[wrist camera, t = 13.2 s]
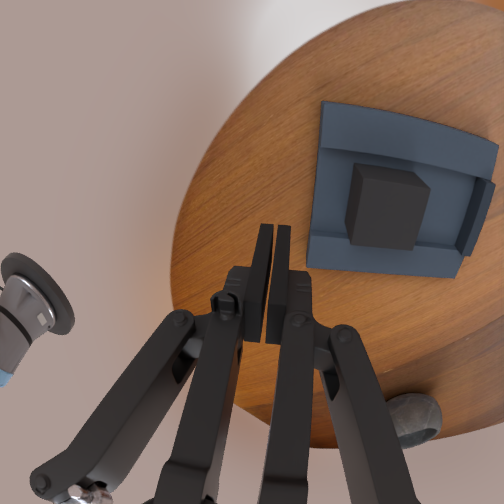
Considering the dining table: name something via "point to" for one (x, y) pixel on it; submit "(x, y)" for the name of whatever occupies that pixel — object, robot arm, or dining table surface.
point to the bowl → (415, 418)
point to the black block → (385, 207)
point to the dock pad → (409, 159)
